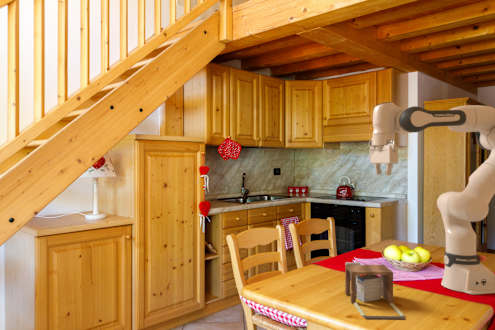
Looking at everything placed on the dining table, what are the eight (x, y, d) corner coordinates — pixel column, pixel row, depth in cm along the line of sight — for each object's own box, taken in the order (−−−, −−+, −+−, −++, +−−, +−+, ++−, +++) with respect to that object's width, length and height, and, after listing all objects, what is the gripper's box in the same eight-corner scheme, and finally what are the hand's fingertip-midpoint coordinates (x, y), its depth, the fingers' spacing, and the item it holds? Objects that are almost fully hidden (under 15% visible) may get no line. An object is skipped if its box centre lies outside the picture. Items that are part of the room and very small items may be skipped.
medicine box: (373, 296, 147) (373, 273, 146) (381, 300, 142) (381, 277, 142) (356, 298, 144) (356, 275, 144) (364, 302, 140) (364, 279, 139)
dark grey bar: (403, 317, 126) (403, 316, 126) (405, 319, 125) (405, 318, 125) (364, 317, 127) (364, 315, 127) (365, 319, 125) (365, 317, 125)
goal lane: (392, 304, 138) (392, 303, 138) (404, 317, 127) (404, 315, 127) (353, 304, 138) (353, 302, 138) (362, 316, 127) (362, 315, 127)
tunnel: (383, 294, 149) (383, 264, 148) (393, 303, 139) (393, 272, 138) (345, 293, 149) (345, 264, 149) (351, 303, 139) (351, 272, 139)
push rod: (361, 278, 168) (361, 262, 168) (374, 292, 150) (374, 274, 150) (343, 278, 168) (343, 262, 168) (353, 292, 150) (353, 274, 150)
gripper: (402, 140, 148) (402, 175, 148) (381, 142, 168) (380, 173, 168) (386, 140, 147) (386, 175, 147) (367, 142, 168) (366, 173, 168)
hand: (383, 174), depth 158 cm, fingers open, 8 cm apart
